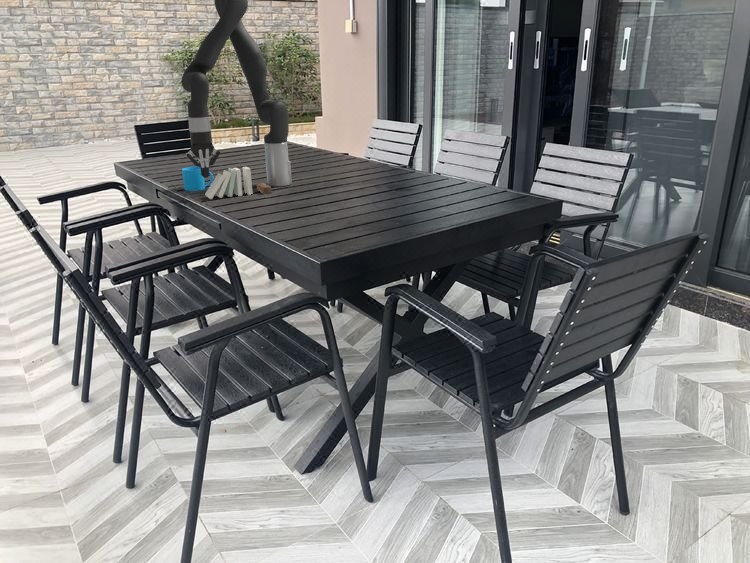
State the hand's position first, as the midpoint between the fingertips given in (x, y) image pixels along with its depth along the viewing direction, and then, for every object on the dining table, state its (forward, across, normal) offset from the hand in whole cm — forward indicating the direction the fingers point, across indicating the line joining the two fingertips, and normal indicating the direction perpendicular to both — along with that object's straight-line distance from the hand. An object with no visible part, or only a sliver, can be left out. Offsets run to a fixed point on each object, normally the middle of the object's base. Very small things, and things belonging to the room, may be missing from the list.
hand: (205, 177), depth 229 cm
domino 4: (+8, +12, 0) cm, 14 cm away
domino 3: (+8, +8, 0) cm, 11 cm away
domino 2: (+8, +4, 0) cm, 9 cm away
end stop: (+8, +22, 0) cm, 24 cm away
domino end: (+8, +16, 0) cm, 18 cm away
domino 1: (+8, 0, 0) cm, 8 cm away
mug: (+8, +2, +21) cm, 23 cm away
